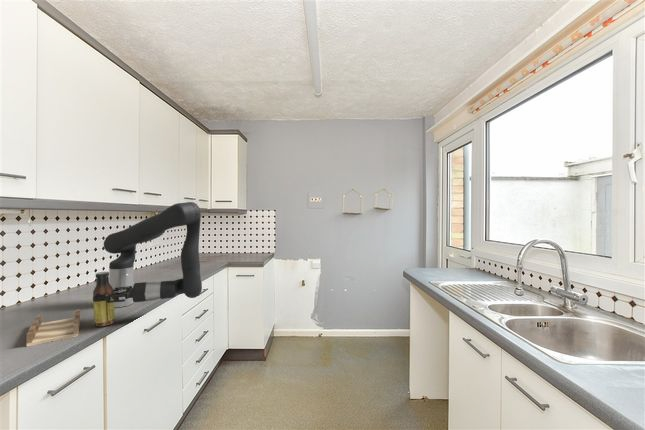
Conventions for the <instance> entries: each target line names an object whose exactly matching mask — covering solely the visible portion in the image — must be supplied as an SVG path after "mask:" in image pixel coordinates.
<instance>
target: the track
mask: <svg viewBox="0 0 645 430" xmlns="http://www.w3.org/2000/svg"><path fill="white" fill-rule="evenodd" d="M80 322H81V309H78V308H77V309H76V310H75V313H74V317H70V318H64V319H59V320H53V321H46V322H42V315H36V316H35V318H34V320H33V322H32V323H31V325H30V327H29V329H28V330H27V333H26V347H33V346H37V345H43V344H47V343H52V342H51V341H53V342H58V341H61V339H62V340H66V339H71V338H76V337H79V331H80V330H79V329H80Z"/></svg>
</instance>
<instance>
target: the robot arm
mask: <svg viewBox="0 0 645 430" xmlns="http://www.w3.org/2000/svg"><path fill="white" fill-rule="evenodd" d="M201 213H202V212H201V209H200V207H199V205H198V204H197V203H196V202H194V201H186V202H179V203H178V202H177V203H174V204H172V205H171V206H169V207H168V208H166V209H165V210H163V211H162V212H160V213H157V214H155V215H153V216H150V217H148V218H145V219H143V220H141V221H139V222H137V223H136V224H133V225H131V226H129V227H127V228H125V229H122V230H120V231H117V232H114V233H110V234H109V235H107V237H105V239H104V241H103V249H104V250H105V251H106V252H107V253H109V254H114V255H115V254H119V256H118V257H116V258H114V259H113V260H112V261H110V262H109V264H108V265H109V269H108V272H109V284H110V285H111V286H112V288H113V293H111V294H105V295H95V296H93V295H92V303H93V302H99V301H106V303H110V302H114V308H122V307H128V306H131V305H133V304H134V303H142V302H143V303H144V302H151V301H157V300H162V299H163V300H164V299H173V298H175V297H177V296H178V295H182V294H184V295H185V296H186V297H187V298H189V299H194V298H197V297H198V296H199V295H200V294H201V293H202V291H203V283H202V279H201V260H200V253H199V252H200V250H199V248H200V245H199V244H200V233H201V232H200V231H201V218H202V216H201V215H202V214H201ZM182 226H186V236H185V240H184V242H183V244H182V245H183V246H182V249H181V251H180V266H181V272H182V278H178V279H174V280H165V281H164V280H163V281H162V280H160V281H157V280H155V281H144V282H135V283H134V265H135V261H136V248H137V244H143V243H148V242H150V241H153V240H155V239H157V238H160V237H162V235H164V233H165V232H166V231H167V230H170V229H173V228H178V227H182ZM110 297H113V298H112V299H110Z"/></svg>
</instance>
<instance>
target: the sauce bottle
mask: <svg viewBox="0 0 645 430" xmlns="http://www.w3.org/2000/svg"><path fill="white" fill-rule="evenodd" d="M95 278H96V279H95V280H96V284H95V287H94V289H93V291H92V292H93V293H92V294H93V295H92V297H93V296H95V295H105V294H111V293H113V288H112V286H111V285H110V284H109V271H100V272H96V273H95ZM112 298H113V297H110V299H112ZM92 304H93V320H94V325H95V327H100V328H101V327H107V326H110V325H113V324H114V323H115V318H116V316H115V315H116V313H115V307H114V302H110V303H106V301H99V302H93V301H92Z"/></svg>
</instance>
